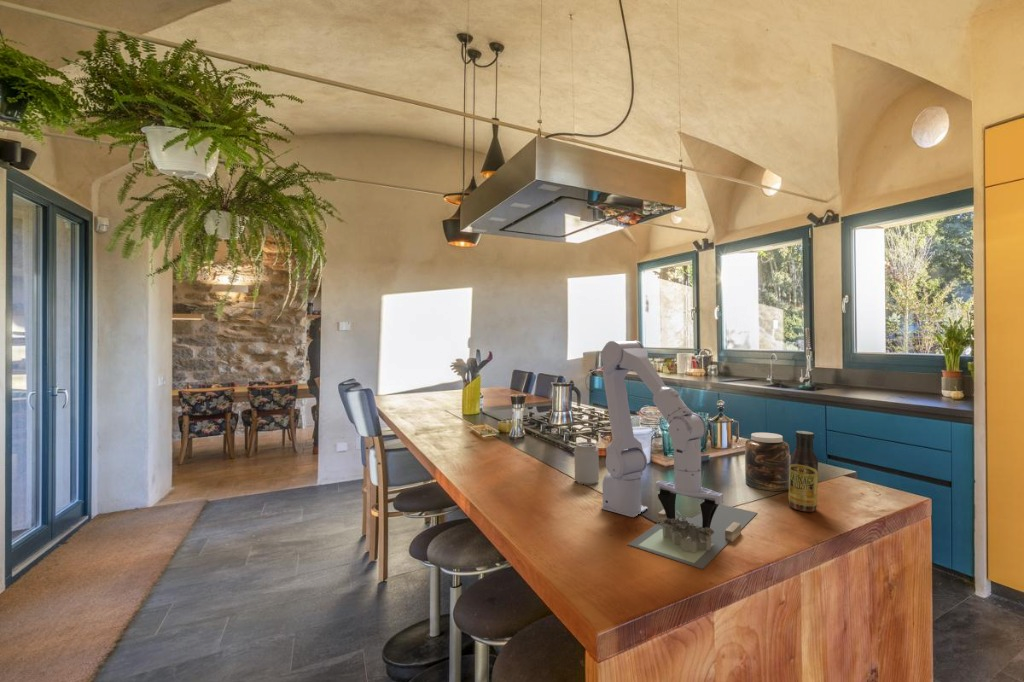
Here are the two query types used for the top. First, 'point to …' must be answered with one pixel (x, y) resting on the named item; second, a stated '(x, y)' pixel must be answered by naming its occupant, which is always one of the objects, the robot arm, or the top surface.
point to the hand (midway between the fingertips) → (688, 528)
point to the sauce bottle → (803, 474)
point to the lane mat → (720, 522)
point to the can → (586, 463)
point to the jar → (767, 462)
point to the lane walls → (730, 532)
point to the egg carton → (687, 534)
